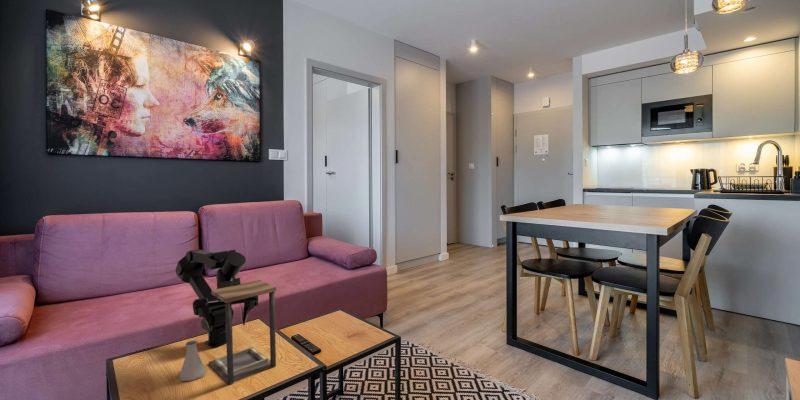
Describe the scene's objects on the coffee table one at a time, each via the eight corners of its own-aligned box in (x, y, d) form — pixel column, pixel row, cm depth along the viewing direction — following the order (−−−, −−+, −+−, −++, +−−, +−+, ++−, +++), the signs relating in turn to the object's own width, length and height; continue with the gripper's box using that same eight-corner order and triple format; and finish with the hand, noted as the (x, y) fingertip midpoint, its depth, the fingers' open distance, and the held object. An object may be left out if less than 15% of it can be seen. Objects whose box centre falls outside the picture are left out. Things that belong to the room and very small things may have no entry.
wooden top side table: (206, 364, 115) (204, 286, 113) (253, 348, 126) (251, 276, 124) (228, 386, 103) (225, 299, 102) (277, 366, 114) (276, 287, 112)
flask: (177, 384, 104) (176, 350, 103) (179, 372, 110) (178, 340, 110) (206, 378, 107) (205, 345, 107) (206, 366, 114) (205, 335, 113)
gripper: (191, 274, 112) (189, 321, 103) (256, 266, 120) (260, 309, 110) (195, 292, 120) (193, 338, 110) (256, 284, 128) (259, 326, 118)
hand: (227, 327), depth 112 cm, fingers open, 9 cm apart
